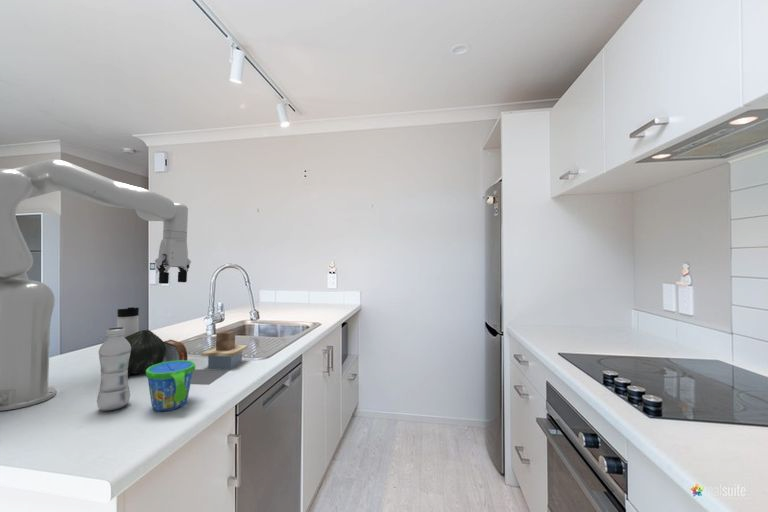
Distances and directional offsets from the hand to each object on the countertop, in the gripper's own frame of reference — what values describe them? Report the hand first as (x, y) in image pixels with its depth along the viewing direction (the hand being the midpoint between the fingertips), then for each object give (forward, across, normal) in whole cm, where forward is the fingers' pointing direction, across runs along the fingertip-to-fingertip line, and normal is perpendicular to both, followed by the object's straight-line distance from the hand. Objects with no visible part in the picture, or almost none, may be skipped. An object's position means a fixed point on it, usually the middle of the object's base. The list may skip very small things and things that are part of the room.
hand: (173, 282), depth 120 cm
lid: (+24, +3, +22) cm, 33 cm away
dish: (+29, +3, +22) cm, 37 cm away
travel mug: (+29, +1, -16) cm, 33 cm away
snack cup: (+30, +34, +26) cm, 52 cm away
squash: (+29, +12, -2) cm, 32 cm away
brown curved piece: (+29, +3, +3) cm, 30 cm away
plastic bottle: (+30, +37, +13) cm, 49 cm away
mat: (+29, +15, +21) cm, 39 cm away
